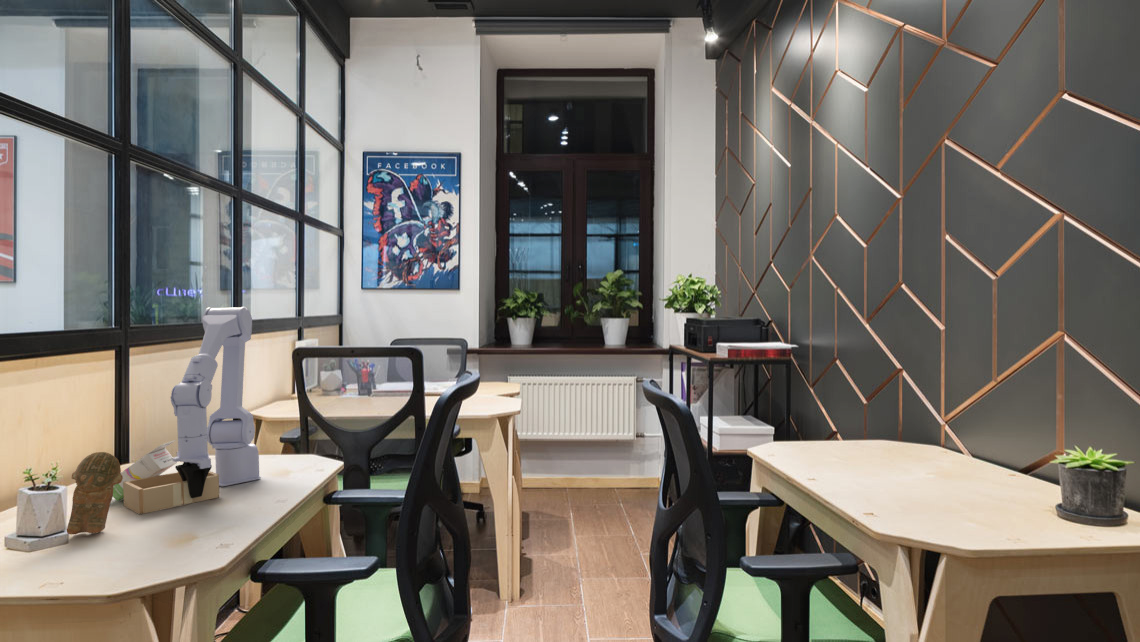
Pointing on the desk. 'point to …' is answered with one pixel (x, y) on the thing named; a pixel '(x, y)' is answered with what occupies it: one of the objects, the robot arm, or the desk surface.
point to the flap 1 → (162, 497)
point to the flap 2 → (208, 491)
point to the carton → (135, 492)
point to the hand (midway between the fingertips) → (194, 496)
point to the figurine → (93, 492)
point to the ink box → (145, 468)
